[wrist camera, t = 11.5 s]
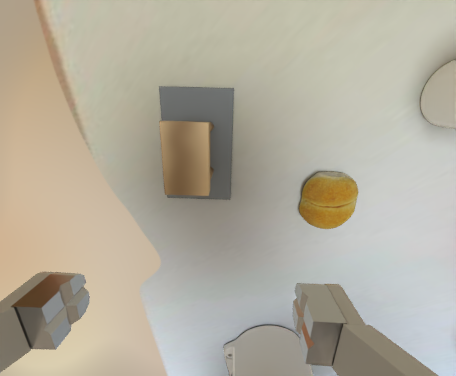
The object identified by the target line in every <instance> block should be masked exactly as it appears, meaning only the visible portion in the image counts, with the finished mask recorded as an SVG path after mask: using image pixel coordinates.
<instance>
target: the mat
mask: <svg viewBox="0 0 456 376" xmlns="http://www.w3.org/2000/svg"><path fill="white" fill-rule="evenodd" d="M159 91H160V105H161V118H162V121H192V122H212V123H213V125H214V128H213V130H211V131H210V167H212V168H213V169H214V172H213V175H212V177H211V180H210V193H209V196H193V195H167V197H168V198H197V199H226V200H230V193H231V161H232V130H233V98H234V88H202V87H162V86H159Z"/></svg>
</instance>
